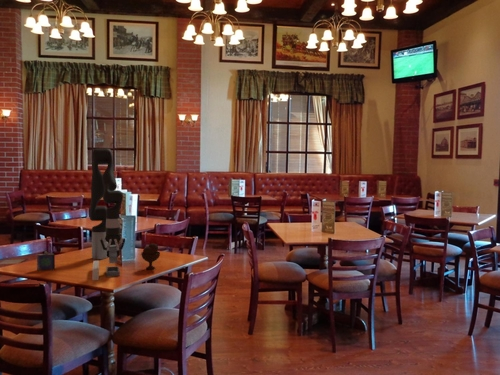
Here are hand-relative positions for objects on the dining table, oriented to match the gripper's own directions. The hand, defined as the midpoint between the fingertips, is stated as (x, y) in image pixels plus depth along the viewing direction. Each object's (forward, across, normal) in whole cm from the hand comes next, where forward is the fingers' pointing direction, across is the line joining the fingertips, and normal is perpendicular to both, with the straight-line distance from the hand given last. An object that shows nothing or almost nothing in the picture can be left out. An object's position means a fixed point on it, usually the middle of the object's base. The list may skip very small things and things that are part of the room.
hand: (112, 256), depth 250 cm
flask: (+10, +36, -18) cm, 41 cm away
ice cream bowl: (+10, -21, -6) cm, 24 cm away
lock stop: (+2, 0, 0) cm, 2 cm away
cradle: (+9, 0, 0) cm, 9 cm away
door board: (+9, +9, 0) cm, 13 cm away
